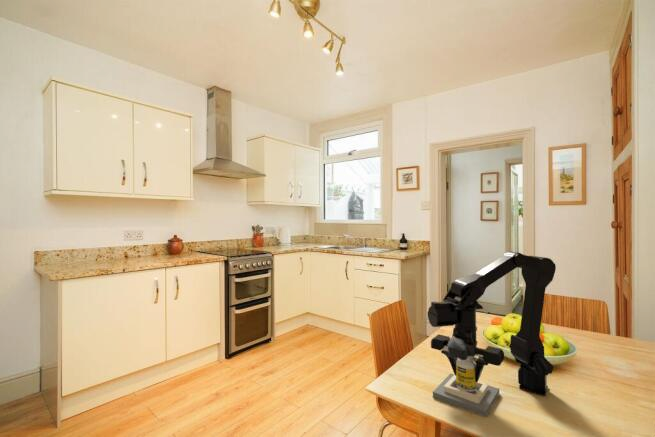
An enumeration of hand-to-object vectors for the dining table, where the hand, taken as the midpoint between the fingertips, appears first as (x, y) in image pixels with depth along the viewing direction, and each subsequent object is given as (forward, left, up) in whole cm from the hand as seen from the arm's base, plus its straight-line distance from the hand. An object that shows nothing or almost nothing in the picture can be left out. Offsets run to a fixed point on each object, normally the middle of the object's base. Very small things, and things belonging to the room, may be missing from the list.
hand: (466, 378), depth 89 cm
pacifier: (+8, -26, -5) cm, 28 cm away
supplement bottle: (0, 0, -3) cm, 3 cm away
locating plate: (0, 0, -5) cm, 5 cm away
